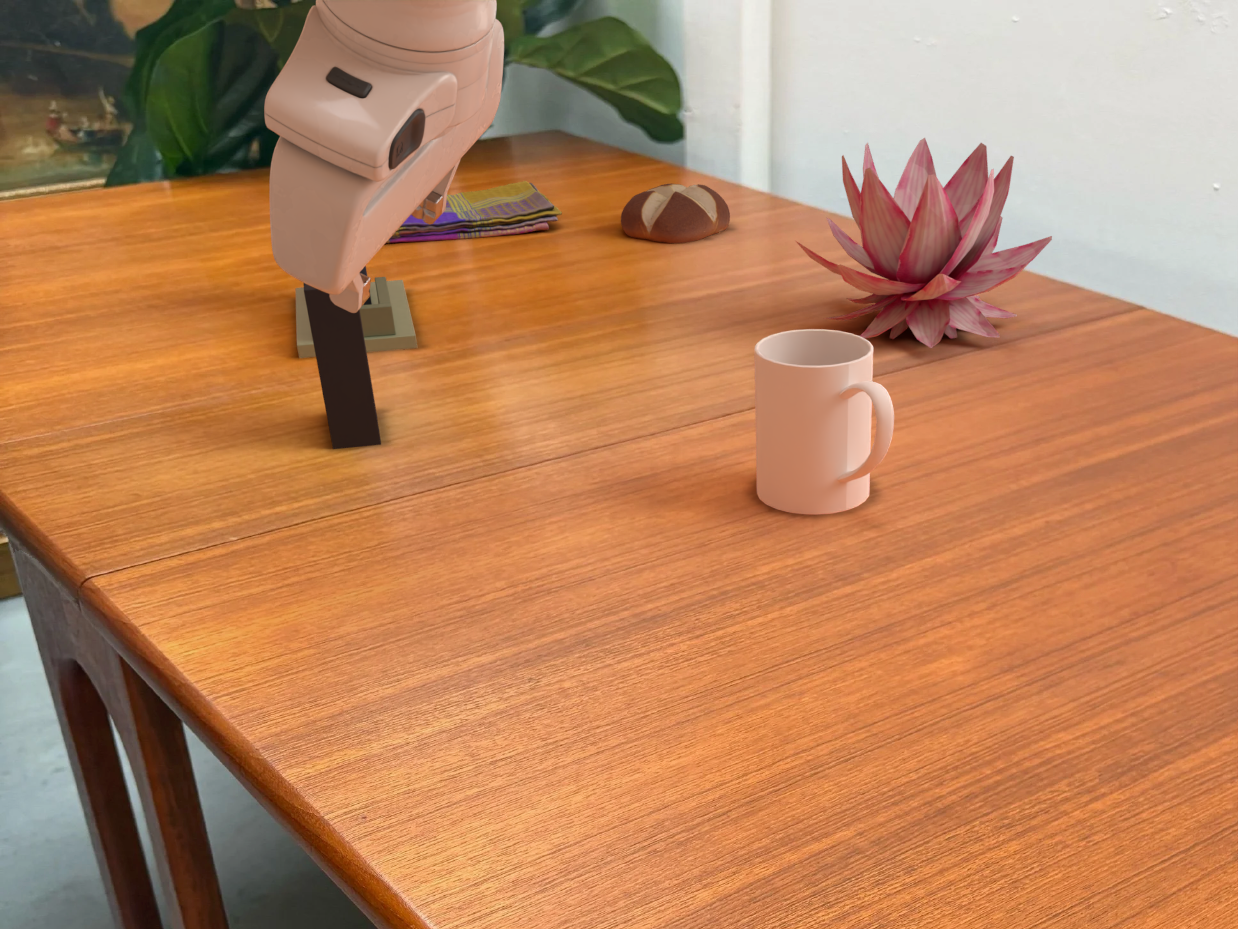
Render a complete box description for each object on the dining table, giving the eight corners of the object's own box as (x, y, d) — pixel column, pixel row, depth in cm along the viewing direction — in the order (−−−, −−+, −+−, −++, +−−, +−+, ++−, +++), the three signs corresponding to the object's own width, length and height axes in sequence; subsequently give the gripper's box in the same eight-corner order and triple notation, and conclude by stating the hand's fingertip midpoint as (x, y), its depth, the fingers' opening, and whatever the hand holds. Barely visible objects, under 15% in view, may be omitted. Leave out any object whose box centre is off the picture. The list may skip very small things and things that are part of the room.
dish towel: (328, 214, 173) (323, 188, 171) (539, 198, 179) (537, 174, 177) (336, 252, 159) (332, 225, 157) (565, 234, 165) (563, 208, 163)
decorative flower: (760, 318, 139) (757, 144, 131) (953, 287, 148) (962, 121, 139) (880, 386, 124) (885, 194, 115) (1088, 347, 132) (1107, 164, 124)
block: (333, 453, 112) (303, 290, 105) (331, 421, 118) (302, 264, 111) (382, 449, 113) (355, 286, 106) (377, 417, 118) (351, 260, 112)
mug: (735, 490, 106) (731, 342, 100) (826, 466, 110) (828, 321, 104) (835, 551, 98) (837, 393, 92) (930, 523, 101) (938, 369, 96)
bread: (746, 229, 166) (745, 182, 164) (680, 252, 159) (678, 202, 156) (668, 215, 172) (666, 169, 169) (601, 236, 164) (598, 188, 161)
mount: (418, 352, 132) (394, 189, 124) (299, 362, 129) (268, 197, 122) (405, 295, 146) (383, 146, 138) (298, 303, 144) (269, 152, 136)
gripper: (441, -67, 84) (423, 144, 95) (244, 116, 73) (249, 331, 84) (544, -15, 84) (513, 189, 96) (363, 175, 73) (353, 381, 84)
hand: (389, 256), depth 90 cm, fingers open, 8 cm apart
